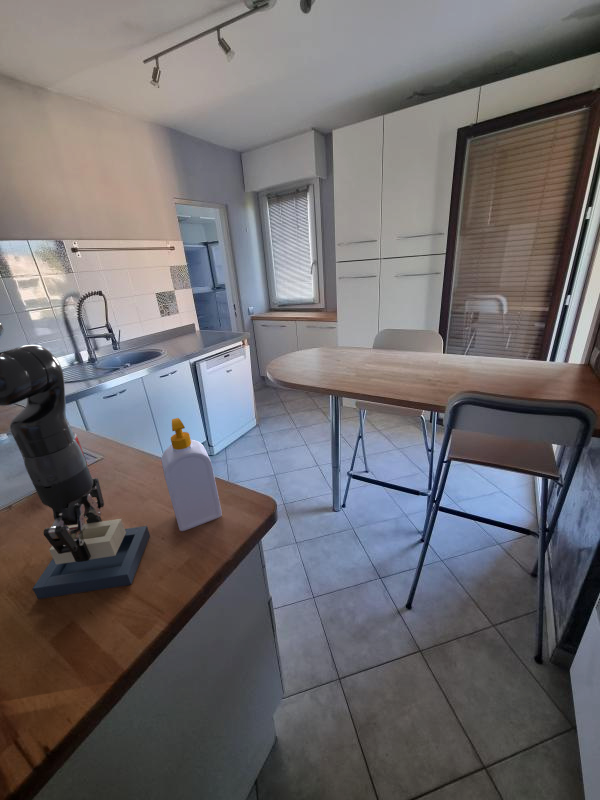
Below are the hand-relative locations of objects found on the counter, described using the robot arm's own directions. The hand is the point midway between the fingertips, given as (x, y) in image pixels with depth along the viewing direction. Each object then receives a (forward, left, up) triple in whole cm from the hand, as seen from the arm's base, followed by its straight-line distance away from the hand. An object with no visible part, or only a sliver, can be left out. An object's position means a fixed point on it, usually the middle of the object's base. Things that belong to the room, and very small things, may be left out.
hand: (91, 545), depth 61 cm
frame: (0, 0, 0) cm, 0 cm away
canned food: (-21, +34, -5) cm, 40 cm away
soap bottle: (+17, +10, -5) cm, 20 cm away
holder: (0, 0, -5) cm, 5 cm away
